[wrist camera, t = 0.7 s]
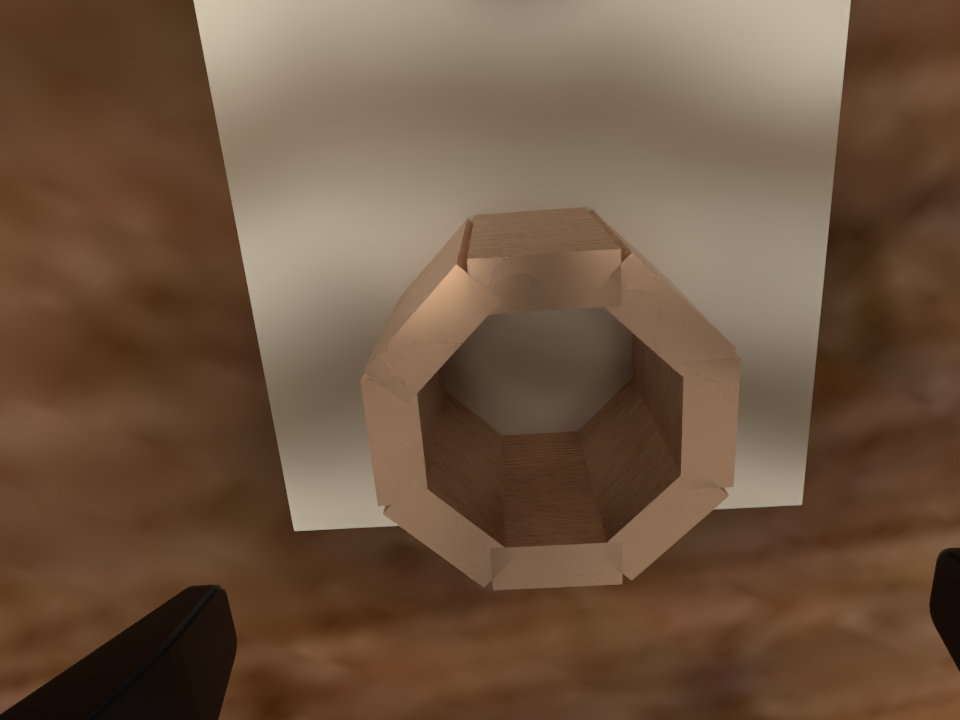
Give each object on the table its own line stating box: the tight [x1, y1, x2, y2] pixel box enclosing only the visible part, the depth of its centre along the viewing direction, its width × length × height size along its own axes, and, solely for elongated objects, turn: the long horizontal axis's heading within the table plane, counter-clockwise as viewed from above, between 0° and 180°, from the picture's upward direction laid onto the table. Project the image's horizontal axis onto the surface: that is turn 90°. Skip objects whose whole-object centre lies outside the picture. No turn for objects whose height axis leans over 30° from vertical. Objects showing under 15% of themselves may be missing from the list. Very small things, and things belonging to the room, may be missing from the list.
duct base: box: [194, 0, 851, 531], centre depth 14 cm, size 20×14×6 cm
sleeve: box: [360, 207, 741, 590], centre depth 15 cm, size 7×7×5 cm
